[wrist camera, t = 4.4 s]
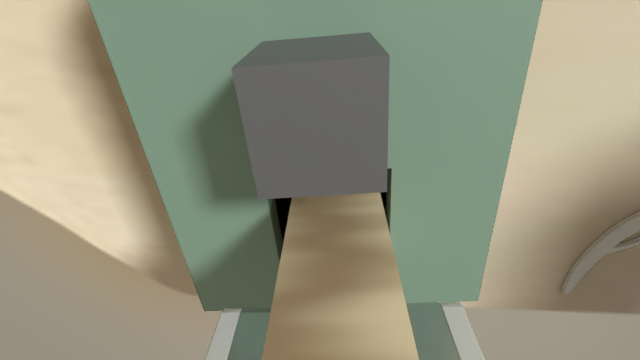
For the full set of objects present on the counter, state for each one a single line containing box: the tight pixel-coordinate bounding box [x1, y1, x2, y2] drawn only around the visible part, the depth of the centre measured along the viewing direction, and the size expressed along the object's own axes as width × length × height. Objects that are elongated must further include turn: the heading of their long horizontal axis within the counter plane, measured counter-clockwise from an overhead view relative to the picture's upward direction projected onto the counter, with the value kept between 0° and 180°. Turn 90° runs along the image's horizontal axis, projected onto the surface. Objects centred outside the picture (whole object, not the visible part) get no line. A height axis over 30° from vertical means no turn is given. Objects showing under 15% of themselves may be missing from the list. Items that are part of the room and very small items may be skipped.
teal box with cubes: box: [88, 0, 543, 311], centre depth 10 cm, size 12×18×6 cm, turn 5°
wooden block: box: [262, 192, 419, 360], centre depth 13 cm, size 3×3×13 cm
